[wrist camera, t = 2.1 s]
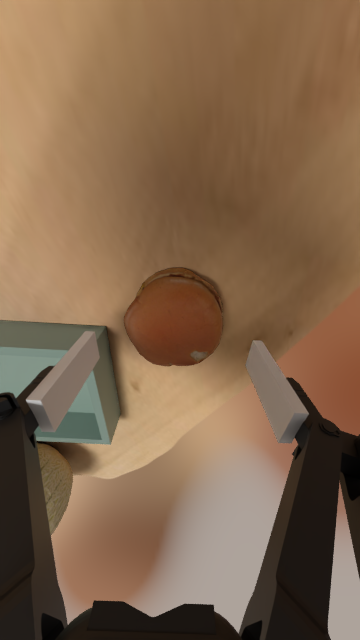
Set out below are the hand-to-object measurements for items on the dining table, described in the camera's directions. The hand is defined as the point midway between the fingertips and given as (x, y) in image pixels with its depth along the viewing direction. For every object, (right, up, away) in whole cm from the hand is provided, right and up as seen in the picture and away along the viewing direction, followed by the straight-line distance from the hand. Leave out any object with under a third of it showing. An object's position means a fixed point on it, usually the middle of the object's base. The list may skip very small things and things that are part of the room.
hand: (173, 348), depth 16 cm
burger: (0, +3, +5) cm, 6 cm away
